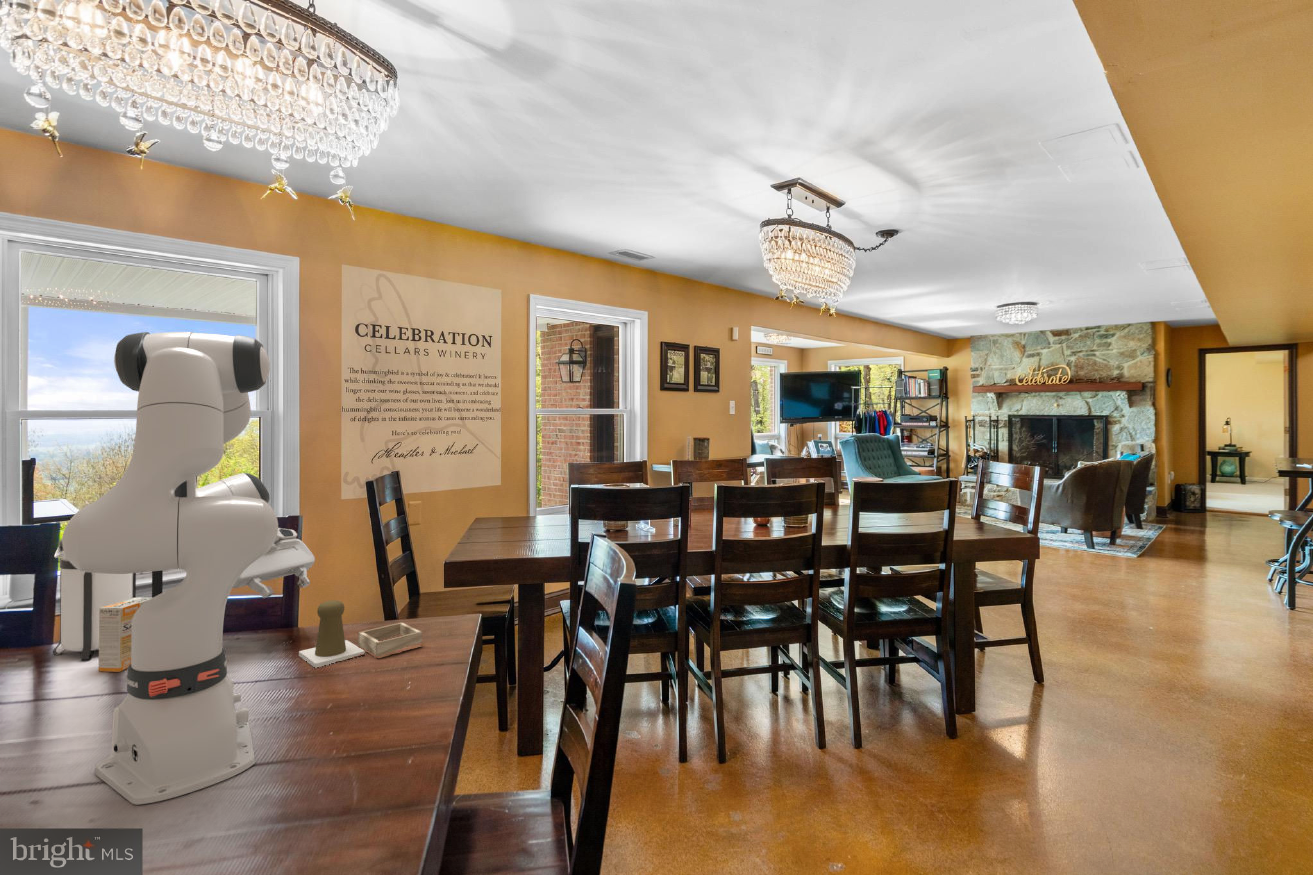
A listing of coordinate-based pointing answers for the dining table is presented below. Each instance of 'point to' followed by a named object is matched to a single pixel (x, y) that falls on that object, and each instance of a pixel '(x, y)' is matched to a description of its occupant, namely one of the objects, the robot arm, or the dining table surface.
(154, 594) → the coffee press
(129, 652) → the supplement box
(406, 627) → the frame
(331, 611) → the cork
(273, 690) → the dining table surface
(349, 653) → the ceramic tile
